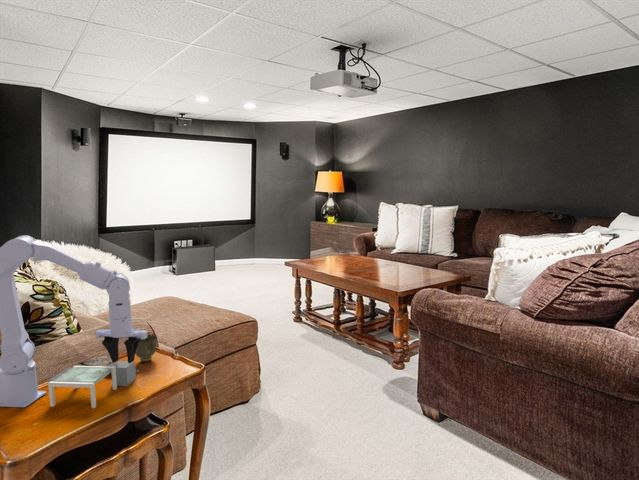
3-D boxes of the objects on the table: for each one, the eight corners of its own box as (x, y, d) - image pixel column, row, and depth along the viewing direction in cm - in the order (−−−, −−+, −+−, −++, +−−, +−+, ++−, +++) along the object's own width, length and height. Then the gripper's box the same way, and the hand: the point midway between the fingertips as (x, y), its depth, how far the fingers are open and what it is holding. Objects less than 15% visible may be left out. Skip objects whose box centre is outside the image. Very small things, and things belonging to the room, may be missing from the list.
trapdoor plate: (48, 386, 110) (47, 380, 110) (69, 372, 119) (68, 367, 119) (93, 387, 109) (93, 382, 109) (111, 373, 118) (111, 368, 118)
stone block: (112, 385, 121) (111, 367, 121) (121, 378, 126) (119, 360, 125) (127, 386, 121) (126, 367, 120) (135, 378, 126) (134, 361, 125)
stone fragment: (123, 383, 125) (148, 369, 134) (122, 374, 125) (148, 360, 134) (64, 368, 135) (92, 356, 144) (63, 360, 134) (91, 348, 143)
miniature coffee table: (50, 406, 110) (48, 382, 109) (76, 387, 120) (74, 365, 120) (94, 407, 109) (92, 384, 108) (117, 388, 119) (115, 366, 119)
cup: (138, 356, 142) (137, 333, 141) (161, 356, 142) (159, 333, 141) (130, 365, 135) (128, 341, 134) (153, 365, 135) (152, 341, 134)
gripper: (151, 312, 125) (153, 356, 126) (104, 311, 126) (107, 355, 127) (139, 320, 118) (142, 366, 119) (89, 319, 119) (93, 365, 120)
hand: (123, 361), depth 123 cm, fingers open, 4 cm apart
